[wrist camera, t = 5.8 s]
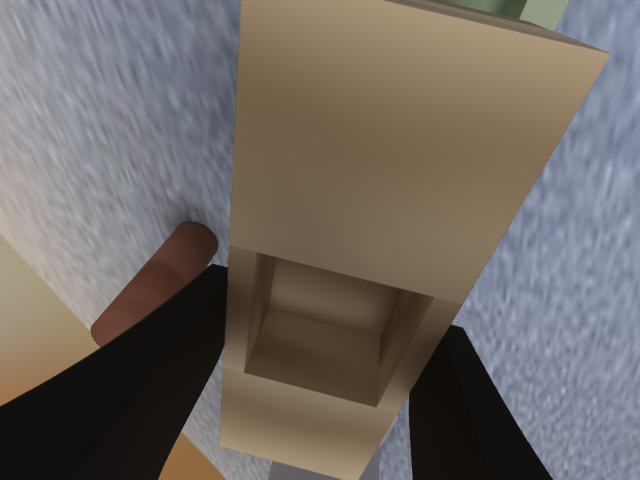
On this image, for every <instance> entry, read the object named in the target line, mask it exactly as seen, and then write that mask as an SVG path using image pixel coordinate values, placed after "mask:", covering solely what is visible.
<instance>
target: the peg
mask: <svg viewBox="0 0 640 480" xmlns="http://www.w3.org/2000/svg"><path fill="white" fill-rule="evenodd" d="M217 249H218V242H217V239H216V237H215V235H214V234H213V233H212V231H210V230H209V229H208V228H207V227H205V226H204V225H202V224H199V223H196V222H185V223H182V224H181V225H179V226H178V227H177V229H176V230H175V231H174V232H173V233H172V234H171V235H170V237H169V238H168V239H167V240H166V241H165V242H164V243H163V245H162V246H161V247H160V248H159V249H158V250H157V251H156V253H155V254H154V255H153V256H152V257H151V258H150V259H149V261H148V262H147V263H146V264H145V265H144V266H143V268H142V269H141V270H140V271H139V272H138V273H137V274H136V276H135V277H134V278H133V279H132V280H131V281H130V282H129V284H128V285H127V286H126V287H125V288H124V289H123V290H122V292H121V293H120V294H119V295H118V296H117V297H116V298H115V300H114V301H113V302H112V303H111V304H110V305H109V306H108V308H107V309H106V310H105V311H104V312H103V313H102V314H101V316H100V317H99V318H98V319H97V320H96V321H95V322H94V324H93V325H92V326H91V335H92V337H93V339H94V340H95V342H96V343H97V344H98V345H99V346H100V347H102V346H104V345H105V344H107V343H108V342H110V341H111V340H113V339H114V338H116V337H117V336H118V335H120V334H121V333H123V332H124V331H126V330H127V329H129V328H130V327H132V326H133V325H134V324H136V323H137V322H139V321H140V320H141V319H143V318H144V317H145V316H147V315H148V314H149V313H151V312H152V311H153V310H155V309H156V308H157V307H159V306H160V305H161V304H163V303H164V302H165V301H167V300H168V299H169V298H170V297H172V296H173V295H174V294H175V293H177V292H178V291H179V290H180V289H182V288H183V287H184V286H185V285H187V284H188V283H189V282H190V281H191V280H193V279H194V278H195V277H196V276H197V275H199V274H200V273H201V272H202V271H203V270H204V269H205V268H206V267H207V265H208V264H209V262H210V261H211V259H212V258H213V256H214V255H215V253H216V251H217Z"/></svg>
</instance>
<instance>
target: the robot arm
mask: <svg viewBox="0 0 640 480" xmlns="http://www.w3.org/2000/svg"><path fill="white" fill-rule="evenodd" d="M227 278H228V267H224V266H220V265H216V264H212V265H210V266H208V267H207V268H206V269H204V270H203V271H202V272H201V273H200V274H199V275H197V276H196V277H195V278H194V279H193V280H191V281H190V282H189V283H188V284H187V285H185V286H184V287H183V288H182V289H180V290H179V291H178V292H177V293H175V294H174V295H173V296H172V297H170V298H169V299H168V300H167V301H165V302H164V303H163V304H161V305H160V306H159V307H157V308H156V309H155V310H153V311H152V312H151V313H149V314H148V315H147V316H145V317H144V318H143V319H141V320H140V321H139V322H137V323H136V324H134V325H133V326H132V327H130V328H129V329H127V330H126V331H124V332H123V333H121V334H120V335H118V336H117V337H116V338H114V339H113V340H111V341H110V342H108V343H107V344H105V345H104V346H102V347H101V348H100V349H98V350H96V351H95V352H93V353H92V354H90V355H89V356H87V357H86V358H84V359H82V360H81V361H79V362H77V363H76V364H74V365H73V366H71V367H69V368H67V369H66V370H64V371H62V372H61V373H59V374H57V375H56V376H54V377H52V378H51V379H49V380H47V381H46V382H44V383H42V384H40V385H38V386H37V387H35V388H33V389H31V390H29V391H27V392H26V393H24V394H22V395H20V396H19V397H17V398H15V399H13V400H11V401H10V402H7V403H6V404H4V405H2V406H0V480H158V478H159V476H160V473H161V471H162V469H163V466H164V464H165V462H166V460H167V458H168V456H169V454H170V452H171V449H172V447H173V445H174V444H175V442H176V440H177V438H178V436H179V434H180V432H181V430H182V428H183V427H184V425H185V423H186V421H187V419H188V417H189V415H190V413H191V411H192V410H193V408H194V406H195V404H196V402H197V400H198V398H199V396H200V395H201V393H202V391H203V389H204V387H205V385H206V383H207V381H208V379H209V377H210V376H211V374H212V372H213V370H214V368H215V366H216V364H217V362H218V360H219V358H220V355H221V353H222V350H223V348H224V345H225V329H226V309H227V289H228V280H227ZM398 417H399V412H398V414H397V416H396V417H395V419H394V421H393V422H392V424H391V426H390V427H389V429H388V431H387V432H386V434H385V436H384V438H383V439H382V441H381V443H380V444H379V446H378V448H377V449H376V451H375V453H374V454H373V456H372V458H371V459H370V461H369V463H368V464H367V466H366V468H365V470H364V471H363V473H362V475H361V476H360V478H359V480H379V462H380V448H381V447H382V445H383V443H384V441H385V440H386V438H387V436H388V435H389V433H390V431H391V430H392V428H393V426H394V425H395V423H396V421H397V420H398ZM409 426H410V444H411V459H412V475H413V480H553V479H552V477H551V476H550V475H549V473H548V472H547V470H546V469H545V467H544V465H543V464H542V462H541V461H540V459H539V458H538V456H537V455H536V453H535V452H534V450H533V449H532V447H531V445H530V444H529V442H528V441H527V439H526V438H525V436H524V434H523V433H522V431H521V430H520V428H519V426H518V425H517V423H516V421H515V420H514V418H513V416H512V415H511V413H510V411H509V409H508V408H507V406H506V404H505V403H504V401H503V399H502V398H501V396H500V394H499V392H498V391H497V389H496V387H495V385H494V384H493V382H492V380H491V378H490V376H489V374H488V373H487V371H486V369H485V367H484V365H483V364H482V362H481V360H480V358H479V356H478V354H477V353H476V351H475V349H474V347H473V345H472V343H471V342H470V340H469V338H468V336H467V334H466V333H465V331H464V329H463V328H462V327H458V326H455V325H450V326H449V328H448V330H447V331H446V333H445V335H444V336H443V337H442V339H441V341H440V342H439V344H438V346H437V347H436V349H435V351H434V352H433V354H432V356H431V357H430V359H429V361H428V363H427V364H426V366H425V368H424V369H423V371H422V373H421V374H420V376H419V378H418V379H417V381H416V383H415V384H414V386H413V388H412V390H411V391H410V393H409ZM268 480H343V479H339V478H335V477H332V476H328V475H324V474H321V473H317V472H313V471H309V470H306V469H302V468H298V467H295V466H291V465H287V464H283V463H280V462H276V461H273V462H272V466H271V470H270V474H269V478H268Z"/></svg>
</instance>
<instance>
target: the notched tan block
mask: <svg viewBox="0 0 640 480" xmlns="http://www.w3.org/2000/svg"><path fill="white" fill-rule="evenodd" d="M610 55H611V53H608V52H605V51H603V50H600V49H598V48H595V47H593V46H590V45H587V44H585V43H582V42H580V41H577V40H575V39H572V38H569V37H567V36H564V35H562V34H559V33H557V32H554V31H551V30H549V29H546V28H544V27H541V26H539V25H536V24H534V23H531V22H528V21H525V20H520V19H516V18H512V17H508V16H503V15H499V14H495V13H490V12H486V11H482V10H477V9H473V8H469V7H465V6H460V5H456V4H452V3H447V2H443V1H439V0H241V13H240V33H239V54H238V74H237V95H236V115H235V136H234V156H233V176H232V197H231V217H230V238H229V258H228V278H227V280H228V289H227V309H226V329H225V345H224V360H223V381H222V401H221V421H220V442H219V446H220V447H224V448H228V449H231V450H235V451H239V452H242V453H246V454H250V455H254V456H257V457H261V458H265V459H268V460H272V461H276V462H280V463H283V464H287V465H291V466H295V467H298V468H302V469H306V470H309V471H313V472H317V473H321V474H324V475H328V476H332V477H335V478H339V479H343V480H359V478H360V476H361V475H362V473H363V471H364V470H365V468H366V466H367V464H368V463H369V461H370V459H371V458H372V456H373V454H374V453H375V451H376V449H377V448H378V446H379V444H380V443H381V441H382V439H383V438H384V436H385V434H386V432H387V431H388V429H389V427H390V426H391V424H392V422H393V421H394V419H395V417H396V416H397V414H398V412H399V411H400V409H401V407H402V406H403V404H404V402H405V400H406V399H407V397H408V395H409V393H410V391H411V390H412V388H413V386H414V384H415V383H416V381H417V379H418V378H419V376H420V374H421V373H422V371H423V369H424V368H425V366H426V364H427V363H428V361H429V359H430V357H431V356H432V354H433V352H434V351H435V349H436V347H437V346H438V344H439V342H440V341H441V339H442V337H443V336H444V335H445V333H446V331H447V330H448V328H449V326H450V325H451V323H452V321H453V320H454V318H455V316H456V315H457V313H458V311H459V310H460V308H461V306H462V304H463V303H464V301H465V299H466V298H467V296H468V294H469V293H470V291H471V289H472V288H473V286H474V284H475V283H476V281H477V279H478V278H479V276H480V274H481V272H482V271H483V269H484V267H485V266H486V264H487V262H488V261H489V259H490V257H491V256H492V254H493V252H494V251H495V249H496V247H497V246H498V244H499V242H500V240H501V239H502V237H503V235H504V234H505V232H506V230H507V229H508V227H509V225H510V224H511V222H512V220H513V219H514V217H515V215H516V214H517V212H518V210H519V208H520V207H521V205H522V203H523V202H524V200H525V198H526V197H527V195H528V193H529V192H530V190H531V188H532V187H533V185H534V183H535V182H536V180H537V178H538V176H539V175H540V173H541V171H542V170H543V168H544V166H545V165H546V163H547V161H548V160H549V158H550V156H551V155H552V153H553V151H554V150H555V148H556V146H557V145H558V143H559V141H560V139H561V138H562V136H563V134H564V133H565V131H566V129H567V128H568V126H569V124H570V123H571V121H572V119H573V118H574V116H575V114H576V113H577V111H578V109H579V107H580V106H581V104H582V102H583V101H584V99H585V97H586V96H587V94H588V92H589V91H590V89H591V87H592V86H593V84H594V82H595V81H596V79H597V77H598V75H599V74H600V72H601V70H602V69H603V67H604V65H605V64H606V62H607V60H608V59H609V57H610Z"/></svg>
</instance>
